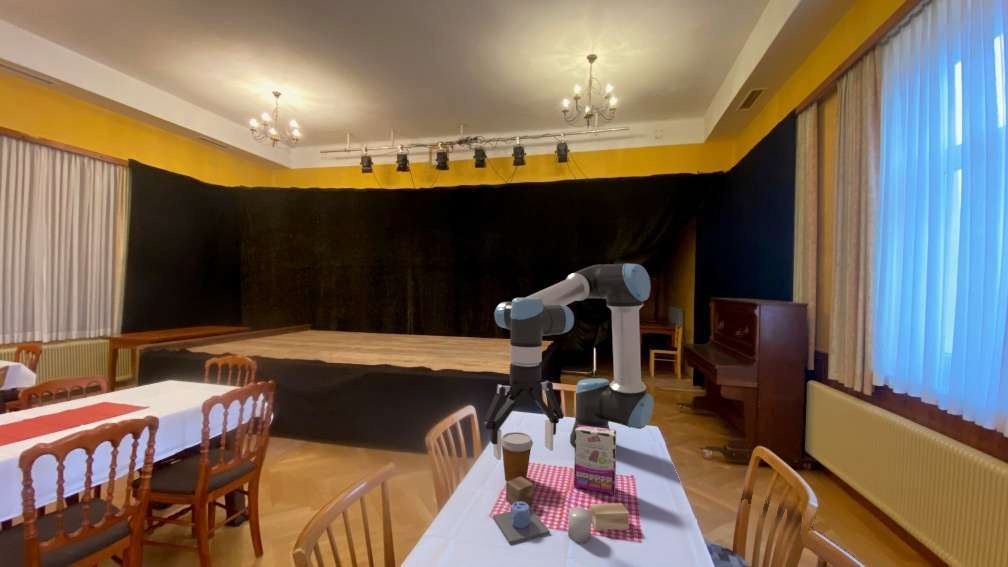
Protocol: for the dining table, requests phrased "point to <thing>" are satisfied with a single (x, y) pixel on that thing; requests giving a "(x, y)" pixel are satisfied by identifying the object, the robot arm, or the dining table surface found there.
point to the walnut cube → (519, 491)
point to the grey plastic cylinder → (579, 525)
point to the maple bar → (609, 516)
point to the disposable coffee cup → (516, 454)
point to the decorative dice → (520, 514)
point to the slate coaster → (520, 534)
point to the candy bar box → (595, 459)
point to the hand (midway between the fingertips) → (523, 452)
